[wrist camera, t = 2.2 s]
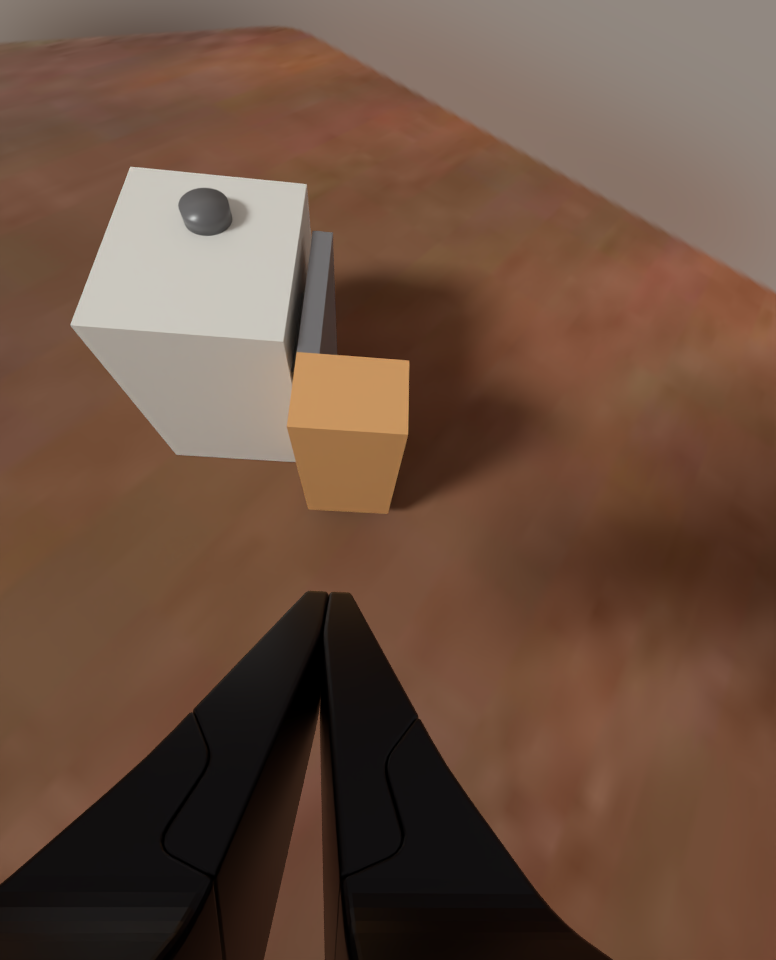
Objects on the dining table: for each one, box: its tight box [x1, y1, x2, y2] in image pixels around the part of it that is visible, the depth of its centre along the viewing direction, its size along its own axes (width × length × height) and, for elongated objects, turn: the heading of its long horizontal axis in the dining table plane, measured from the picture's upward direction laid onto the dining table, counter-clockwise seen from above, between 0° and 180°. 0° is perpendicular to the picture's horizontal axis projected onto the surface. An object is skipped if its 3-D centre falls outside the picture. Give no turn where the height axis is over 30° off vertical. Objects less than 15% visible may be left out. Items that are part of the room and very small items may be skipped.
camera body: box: [71, 167, 312, 462], centre depth 21 cm, size 10×7×11 cm
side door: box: [287, 231, 409, 514], centre depth 21 cm, size 9×4×8 cm, turn 178°
